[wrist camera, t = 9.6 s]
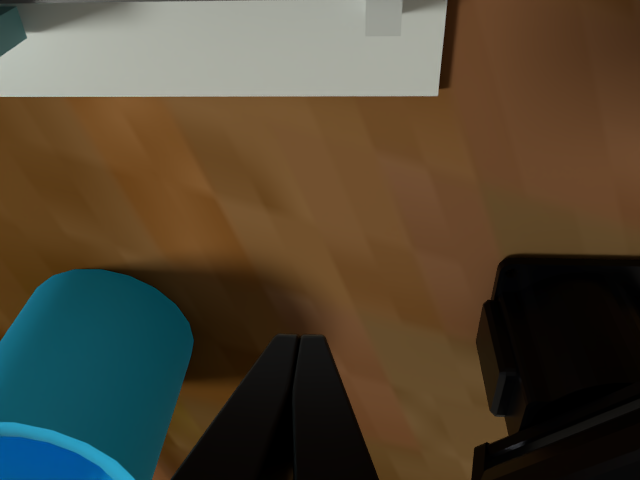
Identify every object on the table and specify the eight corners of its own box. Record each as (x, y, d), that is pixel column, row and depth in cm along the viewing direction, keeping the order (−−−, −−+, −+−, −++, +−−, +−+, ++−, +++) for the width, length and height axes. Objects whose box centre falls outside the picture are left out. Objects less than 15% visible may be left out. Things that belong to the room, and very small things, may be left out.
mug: (117, 243, 25) (30, 396, 19) (226, 356, 29) (186, 513, 23) (-55, 328, 29) (-175, 477, 23) (60, 416, 33) (-13, 563, 27)
